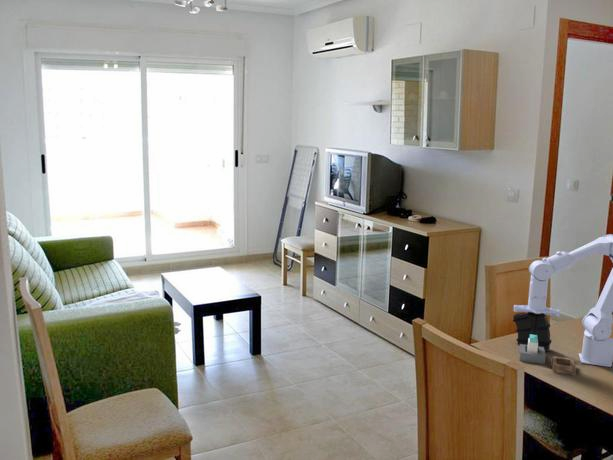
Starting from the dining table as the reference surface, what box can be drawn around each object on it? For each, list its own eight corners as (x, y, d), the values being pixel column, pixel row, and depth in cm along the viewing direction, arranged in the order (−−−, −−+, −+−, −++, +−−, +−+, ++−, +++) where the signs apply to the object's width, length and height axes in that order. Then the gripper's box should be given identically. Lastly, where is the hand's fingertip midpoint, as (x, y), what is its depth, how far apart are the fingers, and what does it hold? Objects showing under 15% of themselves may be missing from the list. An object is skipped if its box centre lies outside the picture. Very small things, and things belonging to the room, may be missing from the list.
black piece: (557, 350, 203) (542, 310, 204) (521, 356, 211) (506, 318, 212) (559, 346, 206) (544, 307, 207) (524, 353, 214) (510, 315, 215)
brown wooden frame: (572, 365, 194) (573, 358, 194) (574, 375, 187) (575, 368, 187) (551, 362, 196) (551, 356, 196) (553, 372, 189) (553, 365, 189)
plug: (535, 356, 202) (538, 335, 200) (536, 360, 198) (538, 339, 196) (526, 355, 203) (528, 333, 201) (527, 359, 199) (529, 337, 197)
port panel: (543, 355, 203) (543, 347, 202) (544, 364, 195) (545, 355, 195) (519, 351, 205) (519, 344, 205) (519, 360, 198) (520, 352, 197)
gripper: (515, 296, 194) (512, 334, 197) (561, 301, 190) (557, 340, 193) (515, 291, 201) (511, 327, 204) (559, 295, 197) (555, 333, 199)
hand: (534, 333), depth 199 cm, fingers closed
